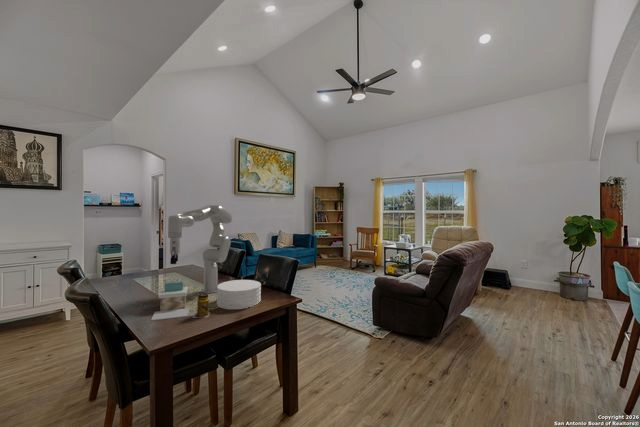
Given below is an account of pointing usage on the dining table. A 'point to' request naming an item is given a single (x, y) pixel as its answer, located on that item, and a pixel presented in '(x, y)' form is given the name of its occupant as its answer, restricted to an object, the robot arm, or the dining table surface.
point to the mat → (170, 314)
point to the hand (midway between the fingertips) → (174, 262)
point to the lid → (173, 290)
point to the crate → (172, 303)
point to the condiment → (202, 306)
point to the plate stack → (238, 294)
